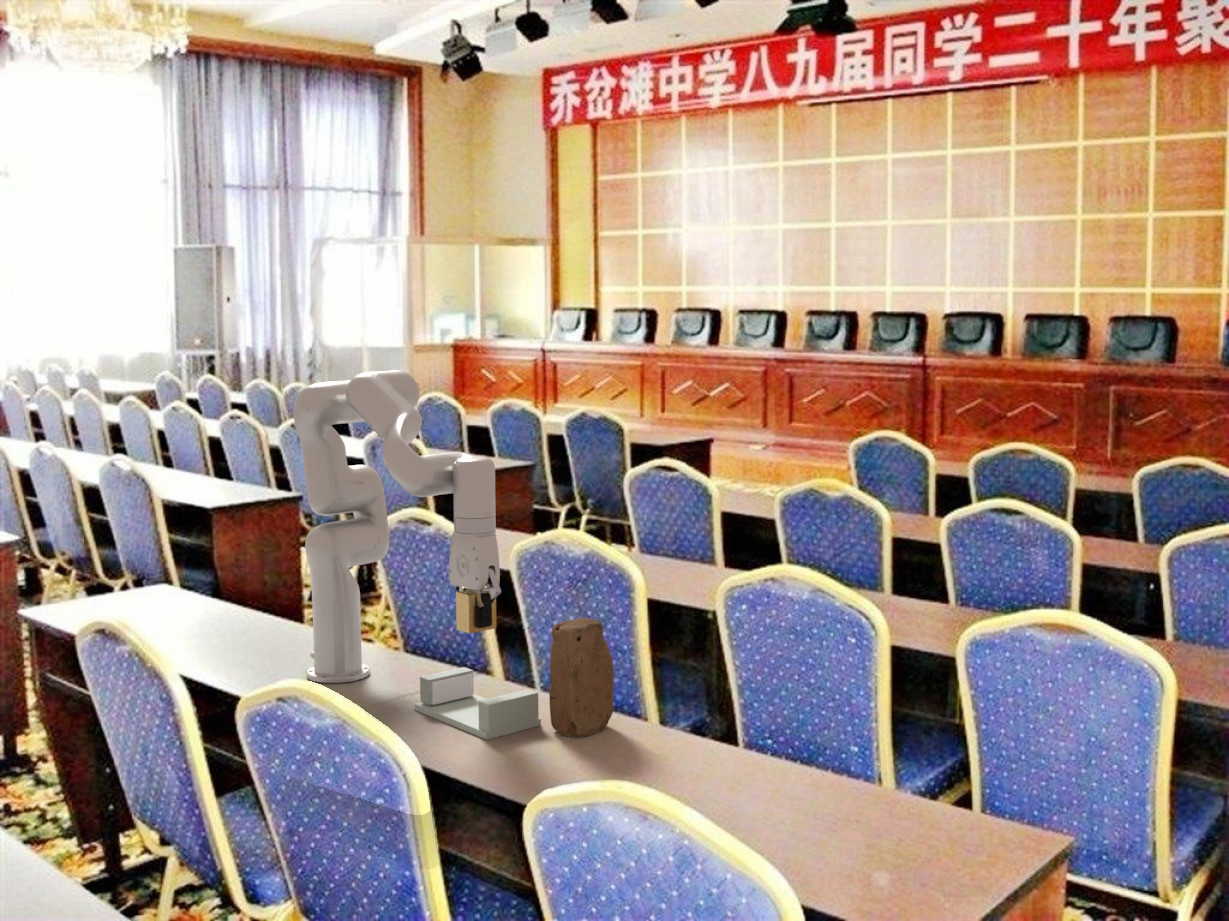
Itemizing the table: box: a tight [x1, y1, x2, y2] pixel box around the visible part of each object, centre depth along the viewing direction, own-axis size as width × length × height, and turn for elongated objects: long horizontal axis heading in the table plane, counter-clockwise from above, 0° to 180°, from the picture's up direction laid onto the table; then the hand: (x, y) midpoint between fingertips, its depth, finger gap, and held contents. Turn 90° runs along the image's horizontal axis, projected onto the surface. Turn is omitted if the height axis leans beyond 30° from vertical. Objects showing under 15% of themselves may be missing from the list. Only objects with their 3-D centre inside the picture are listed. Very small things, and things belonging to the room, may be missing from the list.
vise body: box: [414, 688, 542, 741], centre depth 254 cm, size 23×12×6 cm, turn 41°
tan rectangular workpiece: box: [455, 590, 497, 634], centre depth 252 cm, size 4×6×7 cm, turn 131°
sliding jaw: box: [419, 666, 475, 705], centre depth 261 cm, size 4×10×5 cm, turn 131°
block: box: [548, 616, 615, 738], centre depth 246 cm, size 11×8×20 cm
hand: (476, 623), depth 252 cm, fingers closed on tan rectangular workpiece, 4 cm apart
